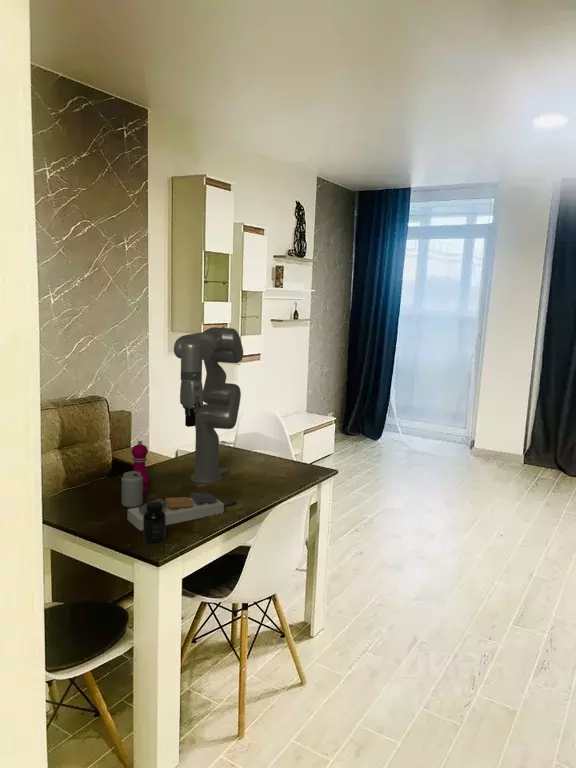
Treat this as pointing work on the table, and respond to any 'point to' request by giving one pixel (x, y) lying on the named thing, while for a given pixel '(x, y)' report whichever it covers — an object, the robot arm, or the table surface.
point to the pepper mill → (141, 462)
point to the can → (132, 489)
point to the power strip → (181, 512)
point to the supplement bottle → (154, 524)
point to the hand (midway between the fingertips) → (190, 425)
